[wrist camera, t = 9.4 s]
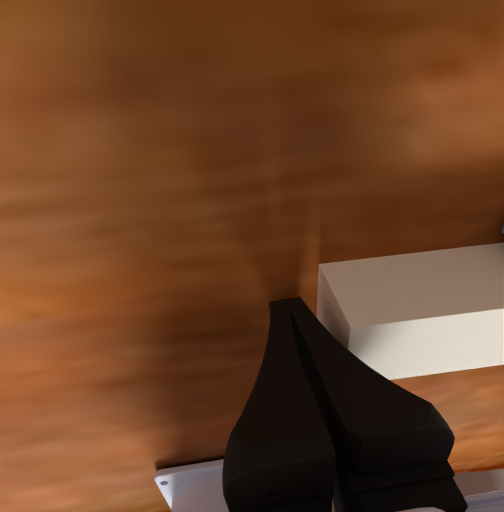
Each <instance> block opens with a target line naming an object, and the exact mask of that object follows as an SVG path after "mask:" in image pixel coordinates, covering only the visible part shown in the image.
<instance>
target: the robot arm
mask: <svg viewBox="0 0 504 512" xmlns="http://www.w3.org/2000/svg"><path fill="white" fill-rule="evenodd" d="M269 307H270V327H269V334H268V340H267V345H266V349H265V354H264V358H263V361H262V365H261V368H260V371H259V374H258V377H257V379H256V382H255V385H254V387H253V390H252V392H251V395H250V397H249V399H248V401H247V403H246V405H245V408H244V410H243V412H242V414H241V416H240V418H239V419H238V421H237V423H236V425H235V427H234V428H233V430H232V432H231V434H230V437H229V440H228V444H227V448H226V452H225V457H224V459H221V460H215V461H209V462H203V463H197V464H191V465H184V466H178V467H172V468H166V469H160V470H158V471H156V473H155V477H154V480H155V482H156V483H157V485H158V487H159V489H160V490H161V492H162V494H163V496H164V498H165V499H166V501H167V503H168V505H169V506H170V508H171V512H332V500H333V504H334V509H335V512H504V490H499V491H494V492H487V493H481V494H475V495H469V496H463V495H462V494H461V492H460V490H459V489H458V487H457V485H456V483H455V481H454V479H453V478H452V477H454V471H453V470H452V468H451V466H450V465H449V463H448V461H447V460H448V457H449V455H450V453H451V450H452V448H453V445H454V440H455V437H454V435H453V432H452V431H451V429H450V427H449V426H448V424H447V423H446V421H445V420H444V419H443V417H442V416H441V415H440V413H439V412H438V411H437V410H436V409H435V407H434V406H433V405H432V404H431V403H430V402H428V401H426V400H424V399H422V398H420V397H418V396H416V395H414V394H412V393H411V392H409V391H407V390H405V389H403V388H401V387H400V386H398V385H396V384H395V383H393V382H391V381H390V380H388V379H387V378H385V377H384V376H382V375H381V374H379V373H378V372H377V371H375V370H374V369H372V368H371V367H369V366H368V365H367V364H365V363H364V362H363V361H361V360H360V359H359V358H358V357H356V356H355V355H354V354H353V353H351V352H350V351H349V350H348V349H347V348H346V347H345V346H344V345H342V344H341V343H340V342H339V341H338V340H337V339H336V338H335V337H334V336H333V335H332V334H331V333H330V332H329V331H328V330H327V329H326V328H325V326H324V325H323V324H322V323H321V322H320V321H319V320H318V319H317V318H316V316H315V315H314V314H313V313H312V312H311V310H310V309H309V308H308V306H307V305H306V304H305V302H304V301H303V299H302V298H300V297H296V298H290V299H283V300H277V301H271V302H270V303H269Z"/></svg>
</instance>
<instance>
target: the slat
mask: <svg viewBox="0 0 504 512" xmlns="http://www.w3.org/2000/svg"><path fill="white" fill-rule="evenodd" d="M317 319H318V320H319V321H320V322H321V323H322V324H323V325H324V326H325V328H326V329H327V330H328V331H329V332H330V333H331V334H332V335H333V336H334V337H335V338H336V339H337V340H338V341H339V342H340V343H341V344H342V345H344V346H345V347H346V348H347V349H348V350H349V351H350V352H351V353H353V354H354V355H355V356H356V357H358V358H359V359H360V360H361V361H363V362H364V363H365V364H367V365H368V366H369V367H371V368H372V369H374V370H375V371H377V372H378V373H379V374H381V375H382V376H384V377H385V378H387V379H388V380H392V379H399V378H407V377H414V376H422V375H429V374H436V373H444V372H451V371H459V370H466V369H473V368H481V367H488V366H496V365H503V364H504V242H503V243H494V244H486V245H477V246H469V247H460V248H452V249H443V250H435V251H426V252H417V253H409V254H400V255H392V256H383V257H375V258H366V259H358V260H349V261H341V262H332V263H323V264H319V269H318V293H317Z"/></svg>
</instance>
